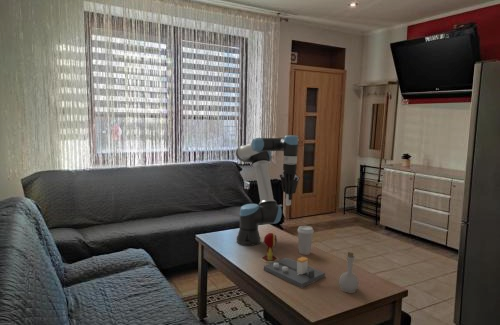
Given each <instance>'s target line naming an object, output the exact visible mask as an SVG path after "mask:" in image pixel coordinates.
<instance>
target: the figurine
mask: <svg viewBox="0 0 500 325" xmlns="http://www.w3.org/2000/svg"><path fill="white" fill-rule="evenodd" d="M277 240H278V238H277V235H276V234H275V233H273V232H268V233H267V234H266V235H265V236H264V237H263V243H264V244H265V245H266V247H267V248H266V255H264V256H262V257H260V261H262V262H264V263H266V264H271V263H273V262H276V261H279V258H278V257H276V256H275V255H273V254H274V251H273V250H274V249H273V248H275V247H276V246H277Z"/></svg>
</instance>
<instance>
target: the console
mask: <svg viewBox="0 0 500 325" xmlns="http://www.w3.org/2000/svg"><path fill="white" fill-rule="evenodd" d="M263 271H265V272H266V273H270V274H272V275H274V276H276V277H277V278H280V279H282V280H284V281H285V282H288V283H290V284H292V285H294V286H297V287H299V288H301V289H304V287H306V286H309V285H311V284H313V283H315V282H317V281H319V280H321V279H323V278H325V277H326V273H325V272H324V271H322V270H319V269H316V268H314V267H312V266H309V265H307V272H306V273H304V274H302V275H301V274H299V273H297V260H294V259H292V258H289V257H284V258H281V259H278V261H276V262H273V263H267V264H266V265H263Z"/></svg>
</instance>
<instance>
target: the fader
mask: <svg viewBox="0 0 500 325" xmlns="http://www.w3.org/2000/svg"><path fill="white" fill-rule="evenodd" d="M296 261H297V273H299V274H301V275H302V274H304V273H306V272H307V266H309V265H308V262H309V258H308V257H305V256H301V257H299V258H296Z"/></svg>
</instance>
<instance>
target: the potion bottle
mask: <svg viewBox="0 0 500 325" xmlns="http://www.w3.org/2000/svg"><path fill="white" fill-rule="evenodd" d="M345 258H346V261H347V264H346V265H347V266H346V267H347V268H346V270H347V271H345V272H343V273H341V275H340V276H339V278H338V283H339V287H340V289H341V291H342V292H344V293H346V294H347V293H349V294H352V293H356V291H357V289H358V287H359V284H360V283H359V278H358V276H357V275H356V274H355V273H354V272H353V262H354V260H355V258H356V257H355V255H354V253H353V252H350V251H348V252H347V255H345Z"/></svg>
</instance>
